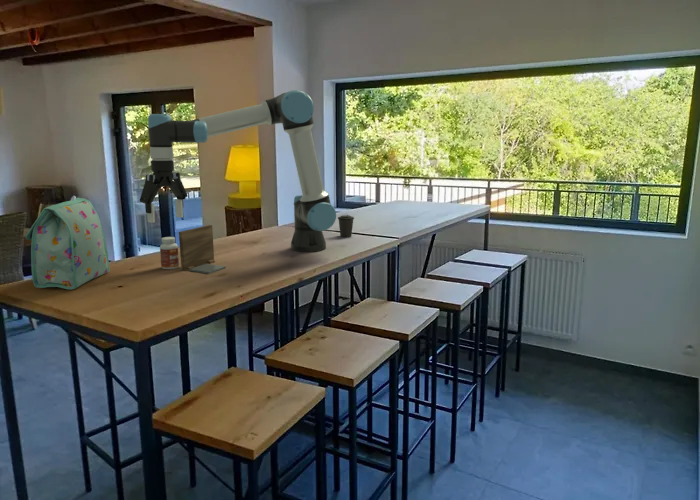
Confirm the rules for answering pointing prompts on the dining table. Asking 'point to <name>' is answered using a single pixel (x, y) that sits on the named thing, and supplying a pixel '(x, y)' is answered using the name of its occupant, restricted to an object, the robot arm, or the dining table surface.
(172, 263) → the pill bottle
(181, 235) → the wooden board
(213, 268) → the coaster
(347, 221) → the coffee cup
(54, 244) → the lunch bag
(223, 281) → the dining table surface
